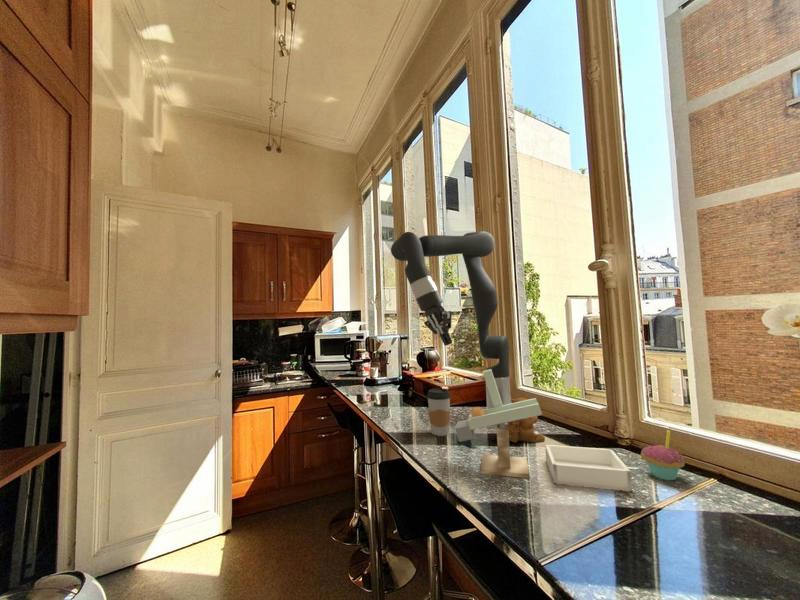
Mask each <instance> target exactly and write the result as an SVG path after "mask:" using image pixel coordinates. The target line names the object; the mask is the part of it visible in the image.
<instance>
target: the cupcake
mask: <svg viewBox="0 0 800 600" xmlns="http://www.w3.org/2000/svg"><path fill="white" fill-rule="evenodd" d="M665 438H666V439H665V444H664V445H663V444H658V445H655V444H654V445H653V444H652V445H648V446H645V447H643V448H642V449H641V451H640V458H641V459H642V460H643V461H645V462H646V463H647V466H648V468H649V470H650V473H651V474H652V476H654V477H655V478H658V479H661V480H665V481H674V480H677V476H678V473H679V472H680V469H681V468H684V467H685V460H684V456H682V453H679V452H678V451H677V450H675V449H673V448H670V439H671V427H669V428H668V430H666V437H665Z"/></svg>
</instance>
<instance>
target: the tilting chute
mask: <svg viewBox="0 0 800 600" xmlns="http://www.w3.org/2000/svg"><path fill="white" fill-rule="evenodd" d="M482 374H483V377H484V381H485V385H486V384H487V387H488V390H489V393H490V396H491V400H492V403H493V406H494V407H493V408H489V409H487V408H486V409H485V408H484V409H482V410H483V411H484V415H481V416H477V417H472V415H471V413H469V416H468V418H467V419H462V420H458V421H457V423H456V425H455V428H454V429H455V430H454V431H455V433H456V436H457V440H458V442H459V443H460V442H466V441H471V440H474V436H475V433H476V431H475V429H479V428H480V429H481V428H485V427H491V426H494V425H496V426H497V424H500V429H502V430H503V429H505V422H510V421H515V420H519V419H524V418H529V417H534V416H537V417H538V416H542V415H543V413H542V410H541V407H540V403H539V402H538V400H537V397H534V398H530V399H529V398H528V399H527V400H524V401H520V402H515V403H512V402H511V404H507V405H503V404H502V401H501V398H500V395H499V392H498V389H497V386H496V383H495V379H494V376H493V373H492V370H491V369H489V370H486V369H485V370H483V371H482Z"/></svg>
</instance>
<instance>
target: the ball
mask: <svg viewBox="0 0 800 600" xmlns="http://www.w3.org/2000/svg"><path fill="white" fill-rule="evenodd" d="M483 410H484V409H483V408H482V407H479V406H476V407H473V408H472V409H471V412H470V414H471V415H472V417H477V416H481V415H484V411H483Z"/></svg>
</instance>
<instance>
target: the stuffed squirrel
mask: <svg viewBox="0 0 800 600" xmlns="http://www.w3.org/2000/svg"><path fill="white" fill-rule="evenodd" d="M524 400H528V399H527V398H524V397H518V398H512V397H511V403H515V402H520V401H524ZM538 421H539V417H538V416H534V417H529V418H524V419H519V420H515V421H510V422H505V423H508V429H509V442H511V443H515V444H516V443H518V442H520V441H521V442H526V443H539V442H543V441H545V440H546V438H545V436H544V435H543V434H541V433H540V434H539V433H535V427H534V425H535V424H536V423H538Z"/></svg>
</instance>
